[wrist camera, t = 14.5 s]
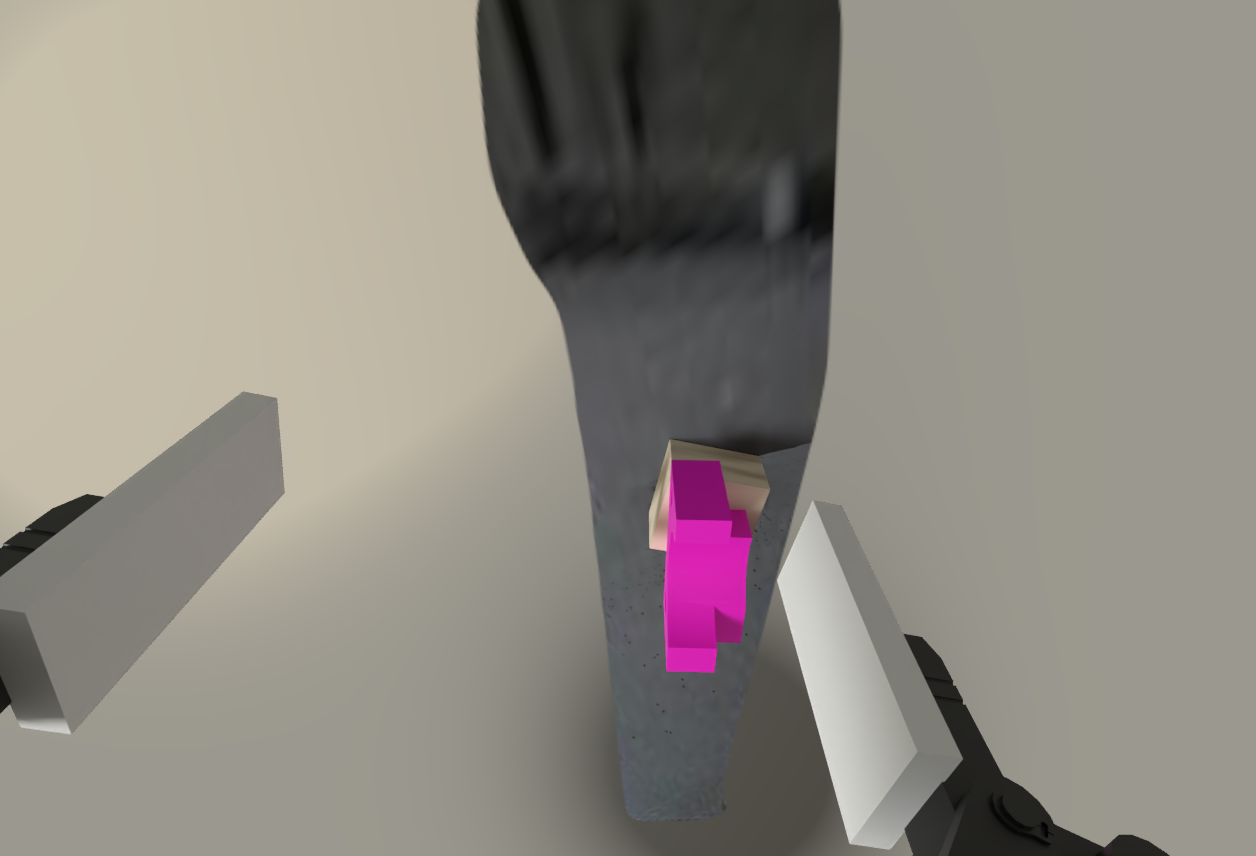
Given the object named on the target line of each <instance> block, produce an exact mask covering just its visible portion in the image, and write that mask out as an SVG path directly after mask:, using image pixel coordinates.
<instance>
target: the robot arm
mask: <svg viewBox="0 0 1256 856" xmlns="http://www.w3.org/2000/svg"><path fill="white" fill-rule="evenodd" d="M282 469H283V467H282V455H281V443H280V430H279V417H278V404H277V398H274V397H268V396H264V395H258V394H253V393H248V392H242V393H241V394H240V395H238V396H237V397H235V398H234V399H233V400H231V401H230V402H229V403H228V404H226V405H225V406H224V407H222V408H221V409H220V410H218V411H217V412H216V413H214V414H213V415H212V416H210V417H209V418H208V419H207V420H205V421H204V422H203V423H201V424H200V425H199V426H197V427H196V428H195V429H193V430H192V431H191V432H189V433H188V434H187V435H186V436H184V437H183V438H182V439H180V440H179V441H178V442H176V443H175V444H174V445H173V446H171V447H170V448H168V449H167V450H166V451H165V452H163V453H162V454H161V455H159V456H158V457H157V458H155V459H154V460H153V461H151V462H150V463H149V464H148V465H146V466H145V467H144V468H142V469H141V470H140V471H138V472H137V473H136V474H135V475H133V476H132V477H130V478H129V479H128V480H127V481H125V482H124V483H123V484H121V485H120V486H119V487H117V488H116V489H115V490H114V491H112V492H111V493H110V494H108V495H107V496H106V497H101V496H95V495H89V494H86V495H84V496H81V497H79V498H77V499H74V500H72V501H69V502H67V503H65V504H62V505H60V506H57V507H55V508H53V509H51V510H50V511H48V512H47V513H46V514H44V515H43V516H41V517H40V518H39V519H37V520H36V521H34V522H33V523H32V524H30V525H29V526H27V527H26V528H25V531H24V532H19V533H18V534H16V535H15V536H13V537H12V538H11V539H9V540H8V541H7V542H5V543H4V544H3V547H2V548H0V713H1V712H2V711H3V710H4V709H5V708H6V707H7V706H8V705H9V704H10V705H11V707H12V709H13V712H14V714H15V716H16V718H17V721H18V723H19V725H20V727H22V728H29V729H36V730H43V731H51V732H58V733H65V734H72V733H73V732H74V731H75V730H76V729H77V727H78V726H79V725H80V724H81V723H82V722H83V721H84V720H85V718H86V717H87V716H88V715H89V714H90V713H91V712H92V711H93V709H94V708H95V707H96V706H97V705H98V704H99V703H100V701H101V700H102V699H103V698H104V697H105V696H106V695H107V694H108V692H109V691H110V690H111V689H112V688H113V686H114V685H115V684H116V683H117V682H118V681H119V680H120V679H121V678H122V676H123V675H124V674H125V673H126V672H127V671H128V670H129V669H130V667H131V666H132V665H133V664H134V663H135V662H136V661H137V659H138V658H139V657H140V656H141V655H142V654H143V653H144V651H145V650H146V649H147V648H148V647H149V646H150V645H151V644H152V642H153V641H154V640H155V639H156V638H157V637H158V636H159V635H160V633H161V632H162V631H163V630H164V629H165V628H166V627H167V625H168V624H169V623H170V622H171V621H172V620H173V619H174V617H175V616H176V615H177V614H178V613H179V611H181V609H182V608H183V607H184V606H185V605H186V604H187V603H188V602H189V600H190V599H191V598H192V597H193V596H194V595H195V594H196V593H197V591H198V590H199V589H200V588H201V587H202V585H204V583H205V582H206V581H207V580H208V579H209V578H210V577H211V575H212V574H213V573H214V572H215V571H216V570H217V569H218V567H219V566H220V565H221V564H222V563H223V562H224V561H225V560H226V558H227V557H228V556H229V555H230V554H231V553H232V552H233V551H234V549H235V548H236V547H237V546H238V545H239V544H240V543H241V541H242V540H243V539H244V538H245V537H246V536H247V535H248V533H249V532H250V531H251V530H252V529H253V528H254V527H255V525H256V524H257V523H258V522H259V521H260V520H261V518H263V516H264V515H265V514H266V513H267V512H268V511H269V510H270V508H271V507H272V506H273V505H274V504H275V503H276V502H277V500H278V499H279V498H280V497H281V496H282V495H283V494H284V480H283V470H282ZM777 582H778V585H779V589H780V592H781V596H782V600H783V603H784V607H785V611H786V614H787V618H788V622H789V625H790V628H791V632H792V636H793V640H794V643H795V647H796V651H797V654H798V658H799V661H800V665H801V669H802V672H803V676H804V679H805V683H806V687H807V691H808V694H809V698H810V701H811V705H812V708H813V712H814V716H815V720H816V723H817V727H818V730H819V734H820V738H821V741H822V745H823V749H824V752H825V756H826V760H827V763H828V767H829V771H830V774H831V778H832V781H833V785H834V789H835V792H836V796H837V799H838V803H839V807H840V810H841V814H842V817H843V821H844V825H845V828H846V832H847V836H848V840H849V843H850V844H854V845H861V846H869V847H876V848H883V849H891V848H892V846H893V845H894V844H895V843H896V842H897V840H898V839H899V838H900V837H901V835H902V834H903V833H904V832H906V835H907V838H908V841H909V844H910V847H911V849H912V852H913V856H1169V855H1168V854H1167V853H1165V852H1164V851H1162V850H1161V849H1159V848H1158V847H1156V846H1155V845H1153V844H1152V843H1150V842H1149V841H1146V840H1144V839H1141V838H1139V837H1136V836H1133V835H1118V836H1117V837H1116V838H1115V839H1114V840H1113V841H1112V842H1110V843H1109V844H1108V845H1107V846H1106V847H1105V848H1104V847H1102V846H1100V845H1098V844H1096V843H1093V842H1091V841H1089V840H1087V839H1085V838H1082V837H1080V836H1078V835H1076V834H1074V833H1071V832H1070V831H1067V830H1065V829H1063V828H1061V827H1059V826H1057V825H1055V824H1054V823H1053V821H1052V819H1051V817H1050V815H1049V814H1048V813H1047V812H1046V810H1045V809H1044V808H1043V806H1042V805H1041V804H1040V802H1039V801H1038V800H1037V799H1036V798H1034V797H1033V796H1032V795H1031V794H1030V793H1029V792H1028V791H1026V790H1025V789H1024V788H1023V787H1022V786H1020V785H1018V784H1016V783H1014V782H1013V781H1011V780H1009V779H1007V778H1005V777H1003V775H1002V773H1001V771H1000V770H999V768H998V766H997V764H996V762H995V760H994V758H993V756H992V754H991V753H990V750H989V749H988V747H987V745H986V743H985V741H984V739H983V737H982V735H981V733H980V731H979V730H978V728H977V726H976V724H975V722H974V720H973V718H972V716H971V714H970V712H969V711H968V709H967V707H966V705H963V699H962V697H961V695H960V694H959V691H958V689H957V688H956V686H953V680H952V678H951V676H950V674H949V672H948V670H947V669H946V667H945V665H944V663H943V661H942V659H941V658H940V657H939V656H938V655H937V653H936V652H935V651H934V650H933V649H932V648H931V647H930V646H929V645H928V644H927V642H926V641H925V640H924V639H923V638H922V637H918V636H913V635H907V634H903V632H902V630H901V628H900V626H899V624H898V622H897V620H896V618H895V616H894V614H893V612H892V610H891V607H890V605H889V603H888V601H887V599H886V597H885V595H884V593H883V591H882V589H881V587H880V584H879V582H878V580H877V578H876V576H875V574H874V572H873V570H872V568H871V566H870V563H869V561H868V559H867V557H866V555H865V553H864V551H863V549H862V547H861V545H860V543H859V540H858V538H857V536H856V534H855V532H854V530H853V528H852V526H851V524H850V522H849V520H848V517H847V515H846V513H845V511H844V509H843V507H842V506H841V505H836V504H830V503H825V502H820V501H815V500H813V502H812V504H811V506H810V508H809V510H808V513H807V515H806V517H805V519H804V522H803V524H802V526H801V528H800V530H799V533H798V535H797V537H796V539H795V542H794V544H793V546H792V548H791V550H790V553H789V555H788V557H787V560H786V562H785V564H784V566H783V568H782V571H781V573H780V575H779V577H778V580H777Z"/></svg>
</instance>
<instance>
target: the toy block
mask: <svg viewBox="0 0 1256 856" xmlns="http://www.w3.org/2000/svg"><path fill="white" fill-rule="evenodd" d="M751 541H752V534H751V530H750V526H749V522H748V517H747V513H746V510H730V507H729V502H728V498H727V493H726V488H725V483H724V478H723V474H722V469H721V464H720V461H711V460H671V476H670V494H669V512H668V530H667V548H666V566H665V584H664V623H665V646H666V669H667V671H679V672H714V669H715V661H716V653H717V644H716V642H729V643H740V642H741V636H742V629H743V622H744V615H745V608H746V598H745V591H746V568H747V559H748V553H749V548H750V544H751Z"/></svg>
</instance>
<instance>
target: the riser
mask: <svg viewBox="0 0 1256 856" xmlns="http://www.w3.org/2000/svg"><path fill="white" fill-rule="evenodd" d="M671 460H711V461H720V464H721V469H722V474H723V478H724V483H725V488H726V493H727V498H728V502H729V507H730V510H746V513H747V517H748V522H749V526H750V530H751V534H753V531H754V529H755V526H756V524H757V521H758V519H759V516H760V514H761V511H762V509H763V506H764V504H765V501H766V499H767V496H768V494H769V491H770V488H769V484H768V481H767V478H766V475H765V472H764V469H763V466H762V463H761V459H760V456H755V455H750V454H744V453H739V452H734V451H729V450H724V449H719V448H714V447H709V446H704V445H698V444H693V443H688V442H683V441H678V440H673V439H670V441H669V444H668V448H667V451H666V454H665V458H664V461H663V465H662V468H661V472H660V475H659V479H658V482H657V486H656V489H655V493H654V496H653V500H652V503H651V507H650V510H649V546H650V548H652V549H657V550H663V551H666V548H667V530H668V512H669V494H670V476H671Z"/></svg>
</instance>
